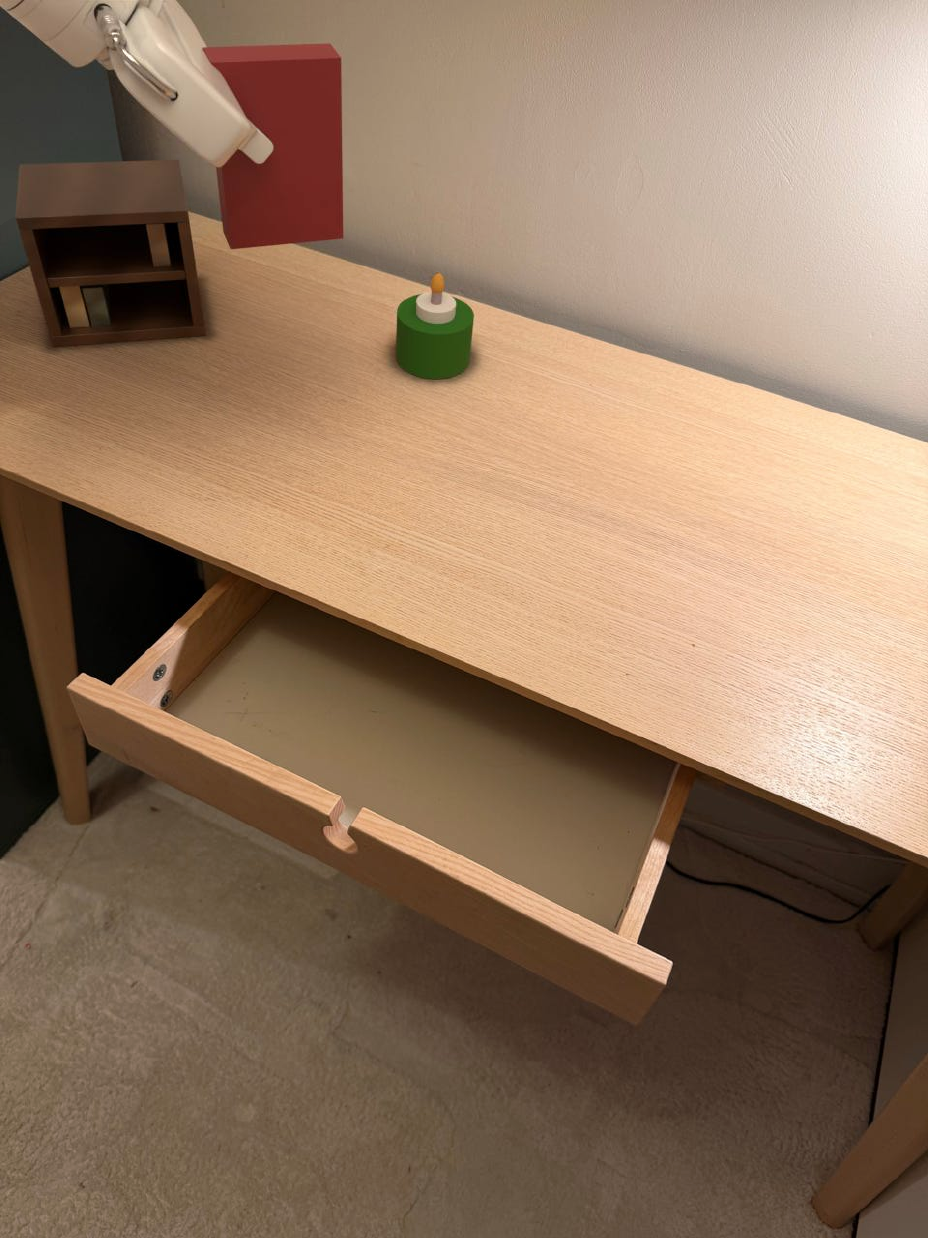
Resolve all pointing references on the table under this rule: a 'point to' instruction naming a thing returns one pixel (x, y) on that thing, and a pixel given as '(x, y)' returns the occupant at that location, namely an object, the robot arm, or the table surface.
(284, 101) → the book
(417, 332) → the candle
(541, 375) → the table surface
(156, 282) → the bookshelf
